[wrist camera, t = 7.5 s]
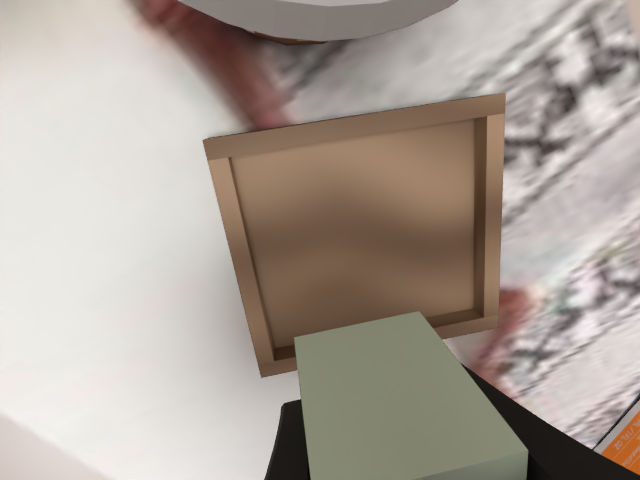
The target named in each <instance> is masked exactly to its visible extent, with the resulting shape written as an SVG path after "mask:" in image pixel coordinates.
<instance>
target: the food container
mask: <svg viewBox="0 0 640 480" xmlns="http://www.w3.org/2000/svg"><path fill="white" fill-rule="evenodd" d="M177 1H179V2H181V3H183V4H185V5H188V6H190V7H192V8H194V9H196V10H199V11H201V12H203V13H205V14H207V15H209V16H212V17H214V18H216V19H218V20H220V21H223V22H225V23H227V24H230V25H234V26H237V27H241V28H242V29H244V30H245V31H246V32H248V33H249V34H252V35H255V36H258V37H261V38H265V39H268V40H271V41H274V42H278V43H281V44H284V45H306V44H323V43H325V42H328V41H331V40H343V39H356V38H366V37H370V36H374V35H377V34H381V33H385V32H388V31H392V30H396V29H400V28H403V27H407V26H410V25H412V24H414V23H416V22H418V21H420V20H422V19H424V18H427V17H429V16H431V15H433V14H435V13H437V12H439V11H442V10H444V9H446V8H448V7H450V6H451V5H452V4H454V3H455V2H457V1H458V0H177Z"/></svg>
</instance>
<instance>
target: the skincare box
mask: <svg viewBox="0 0 640 480" xmlns="http://www.w3.org/2000/svg"><path fill="white" fill-rule="evenodd" d="M593 451H595V452H597V453H599V454H601V455H603V456H604V457H606V458H608V459H610V460H612V461H614V462H616V463H617V464H619V465H621V466H623V467H625V468H627V469H629V470H631V471H633V472H634V473H636V474H638V475H640V400H639V401H638V402H637V403H636V404H635V405H634V406H633V407H632V408H631V410H630V411H629V412H628V413H627V414H626V415H625V416H624V418H623V419H622V420H621V421H620V422H619V423H618V424H617V425H616V426H615V428H614V429H613V430H612V431H611V432H610V433H609V434H608V435H607V436H606V437H605V438H604V440H603V441H602V442H601V443H600V444H599V445H597V446H596V447H595V448H594V450H593Z"/></svg>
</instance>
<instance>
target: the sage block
mask: <svg viewBox="0 0 640 480" xmlns="http://www.w3.org/2000/svg"><path fill="white" fill-rule="evenodd" d="M294 342H295V351H296V359H297V368H298V376H299V385H300V393H301V401H302V410H303V418H304V427H305V435H306V444H307V452H308V460H309V469H310V477H311V480H526V477H527V463H528V449H527V448H526V447H525V446H524V444H523V443H522V442H521V440H520V439H519V438H518V437H517V435H516V434H515V433H514V432H513V430H512V429H511V428H510V426H509V425H508V424H507V423H506V421H505V420H504V419H503V417H502V416H501V415H500V414H499V412H498V411H497V410H496V408H495V407H494V406H493V405H492V403H491V402H490V401H489V400H488V398H487V397H486V396H485V394H484V393H483V392H482V391H481V389H480V388H479V387H478V385H477V384H476V383H475V382H474V380H473V379H472V378H471V377H470V375H469V374H468V373H467V371H466V370H465V369H464V368H463V366H462V365H461V364H460V362H459V361H458V360H457V359H456V357H455V356H454V355H453V353H452V352H451V351H450V350H449V348H448V347H447V346H446V345H445V343H444V342H443V341H442V339H441V338H440V337H439V336H438V334H437V333H436V332H435V330H434V329H433V328H432V327H431V325H430V324H429V323H428V322H427V320H426V319H425V318H424V316H423V315H422V314H421V313H420V311H417V312H412V313H407V314H402V315H398V316H393V317H388V318H384V319H379V320H374V321H369V322H365V323H360V324H355V325H350V326H346V327H341V328H336V329H331V330H327V331H322V332H317V333H313V334H308V335H303V336H298V337H294Z"/></svg>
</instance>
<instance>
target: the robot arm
mask: <svg viewBox="0 0 640 480" xmlns="http://www.w3.org/2000/svg"><path fill="white" fill-rule="evenodd" d="M460 364H461V363H460ZM461 365H462V366H463V368H464V369H465V370H466V371H467V373H468V374H469V375H470V377H471V378H472V379H473V380H474V382H475V383H476V384H477V385H478V387H479V388H480V389H481V391H482V392H483V393H484V394H485V396H486V397H487V398H488V400H489V401H490V402H491V403H492V405H493V406H494V407H495V408H496V410H497V411H498V412H499V414H500V415H501V416H502V417H503V419H504V420H505V421H506V423H507V424H508V425H509V426H510V428H511V429H512V430H513V432H514V433H515V434H516V435H517V437H518V438H519V439H520V440H521V442H522V443H523V444H524V446H525V447H526V448H527V449H528V463H527V477H526V480H640V475H638V474H636V473H634V472H633V471H631V470H629V469H627V468H625V467H623V466H621V465H619V464H617V463H616V462H614V461H612V460H610V459H608V458H606V457H604V456H603V455H601V454H599V453H597V452H595V451H593V450H592V449H590V448H588V447H586V446H585V445H583V444H581V443H579V442H578V441H576V440H574V439H573V438H571V437H569V436H568V435H566V434H564V433H563V432H561V431H560V430H558V429H556V428H555V427H553V426H551V425H550V424H548V423H547V422H545V421H543V420H542V419H540V418H539V417H537V416H536V415H534V414H533V413H531V412H530V411H528V410H527V409H525V408H524V407H522V406H521V405H519V404H518V403H516V402H515V401H513V400H512V399H511V398H509V397H508V396H506V395H505V394H503V393H502V392H501V391H499V390H498V389H496V388H495V387H493V386H492V385H491V384H489V383H488V382H486V381H485V380H484V379H482V378H481V377H479V376H478V375H477V374H475V373H474V372H472V371H471V370H470V369H468V368H467V367H465V366H464V365H463V364H461ZM264 480H311V477H310V469H309V460H308V452H307V444H306V435H305V427H304V418H303V410H302V401H301V399H300V400H296V401H291V402H287V403H284V404H283V406H282V407H281V415H280V421H279V426H278V431H277V436H276V440H275V444H274V448H273V452H272V455H271V459H270V462H269V466H268V469H267V473H266V476H265V479H264Z"/></svg>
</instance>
